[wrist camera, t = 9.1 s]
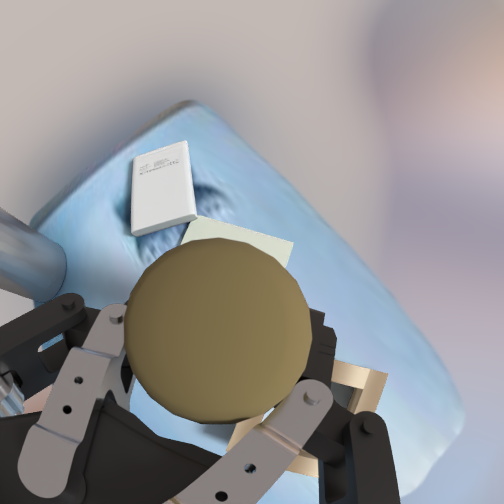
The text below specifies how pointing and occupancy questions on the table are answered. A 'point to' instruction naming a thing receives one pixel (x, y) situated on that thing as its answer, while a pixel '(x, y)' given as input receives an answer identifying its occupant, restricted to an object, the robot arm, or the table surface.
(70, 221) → the table surface
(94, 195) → the table surface
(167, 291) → the cork
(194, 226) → the mat
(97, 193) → the table surface
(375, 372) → the holder
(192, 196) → the external hard drive
